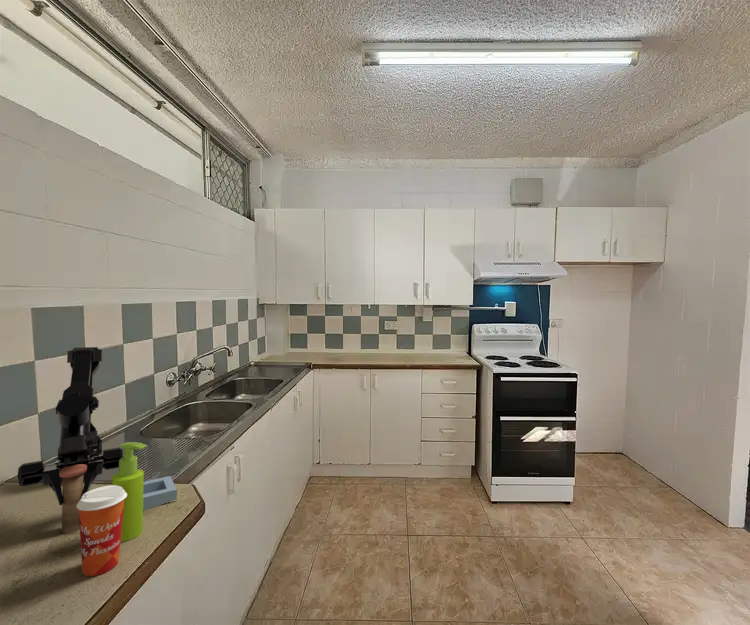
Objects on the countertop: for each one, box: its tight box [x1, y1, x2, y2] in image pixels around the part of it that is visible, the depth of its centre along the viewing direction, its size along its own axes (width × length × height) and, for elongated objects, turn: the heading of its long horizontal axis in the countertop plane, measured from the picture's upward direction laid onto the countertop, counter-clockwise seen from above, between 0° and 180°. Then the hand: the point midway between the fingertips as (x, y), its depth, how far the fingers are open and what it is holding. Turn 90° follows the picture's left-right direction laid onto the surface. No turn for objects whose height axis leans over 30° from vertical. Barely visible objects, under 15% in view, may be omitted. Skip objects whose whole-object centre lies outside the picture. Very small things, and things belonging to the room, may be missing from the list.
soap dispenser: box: [111, 441, 148, 543], centre depth 81 cm, size 6×7×20 cm
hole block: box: [143, 475, 178, 511], centre depth 97 cm, size 10×10×3 cm
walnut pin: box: [59, 464, 87, 534], centre depth 83 cm, size 5×5×14 cm
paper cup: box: [77, 484, 127, 577], centre depth 71 cm, size 8×8×14 cm
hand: (72, 501), depth 82 cm, fingers closed on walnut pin, 4 cm apart
